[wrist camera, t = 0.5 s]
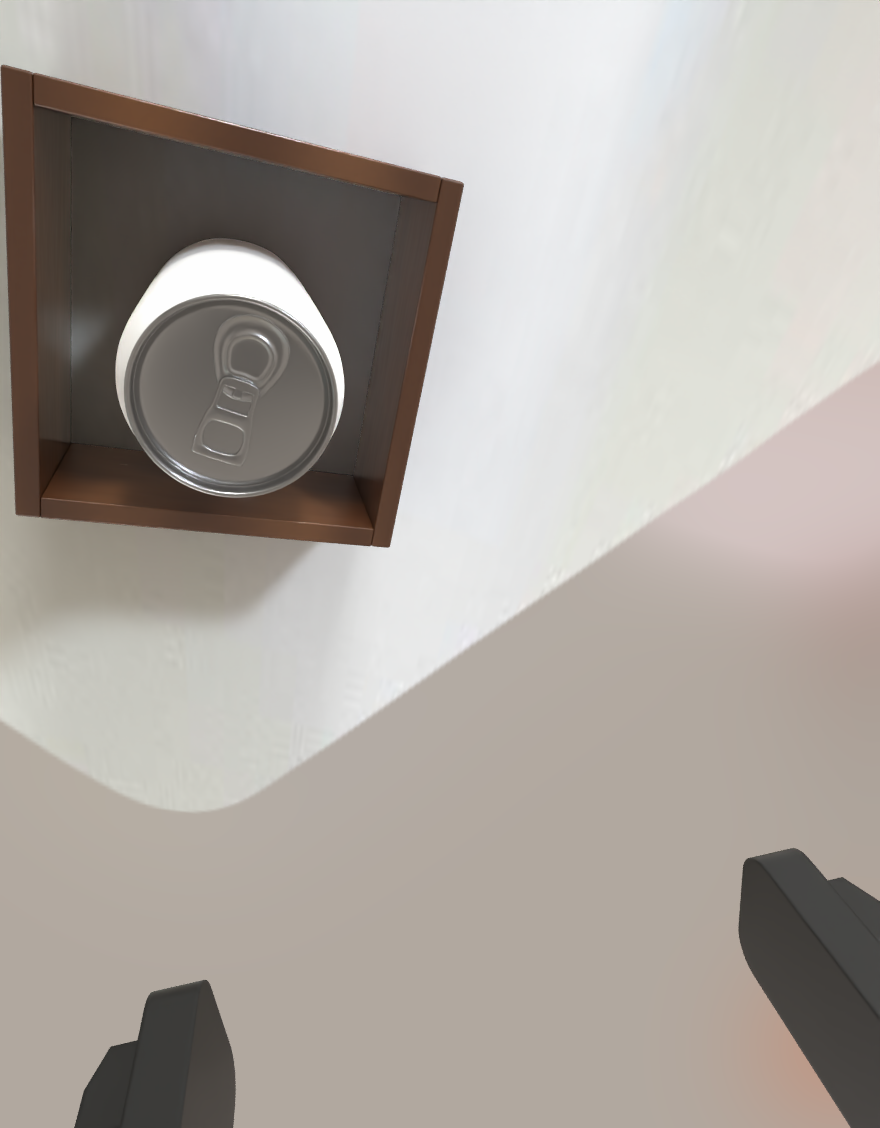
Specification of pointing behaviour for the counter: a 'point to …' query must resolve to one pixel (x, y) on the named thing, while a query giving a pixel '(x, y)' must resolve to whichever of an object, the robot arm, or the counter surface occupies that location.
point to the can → (229, 371)
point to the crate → (43, 329)
